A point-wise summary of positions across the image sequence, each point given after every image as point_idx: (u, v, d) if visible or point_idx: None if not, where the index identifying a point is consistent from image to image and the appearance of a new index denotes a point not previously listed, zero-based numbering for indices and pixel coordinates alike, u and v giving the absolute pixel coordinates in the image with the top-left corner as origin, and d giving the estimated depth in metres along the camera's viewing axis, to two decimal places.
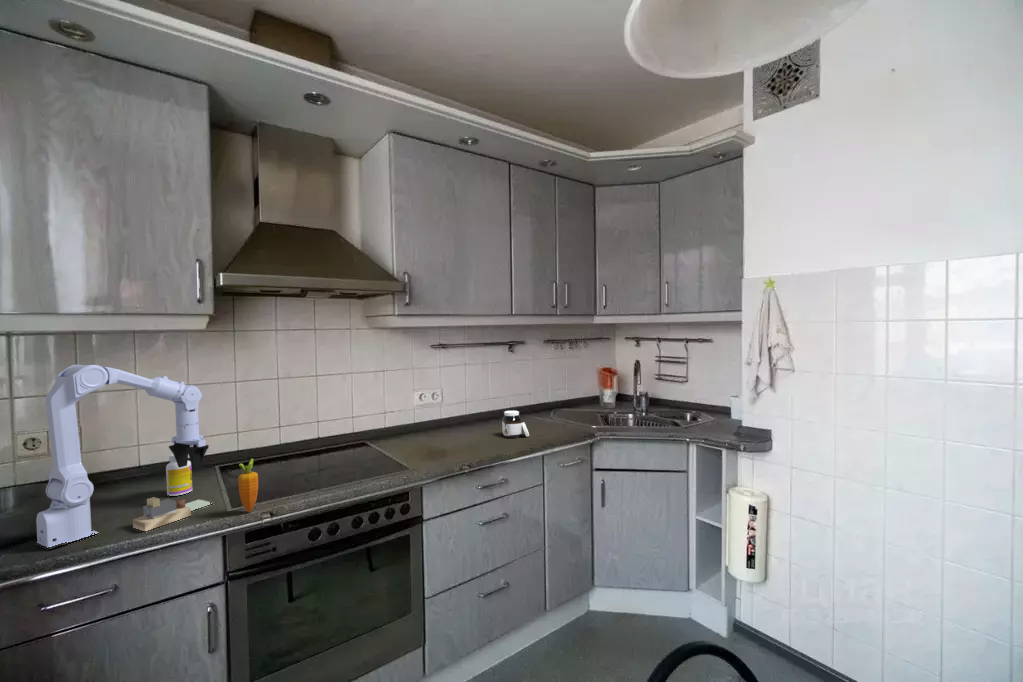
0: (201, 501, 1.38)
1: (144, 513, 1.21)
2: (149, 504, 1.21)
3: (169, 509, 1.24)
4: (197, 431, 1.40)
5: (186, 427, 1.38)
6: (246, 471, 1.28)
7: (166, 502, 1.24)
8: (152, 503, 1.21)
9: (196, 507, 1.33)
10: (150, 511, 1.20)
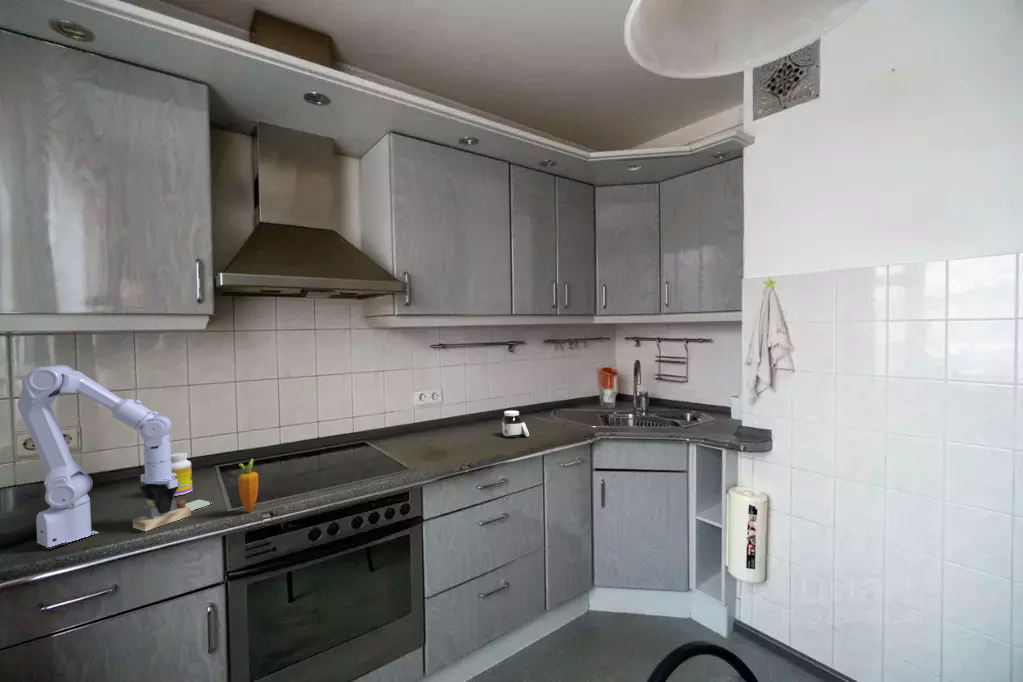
0: (201, 501, 1.38)
1: (144, 513, 1.21)
2: (149, 504, 1.21)
3: None
4: (169, 469, 1.23)
5: (155, 465, 1.21)
6: (246, 471, 1.28)
7: None
8: (152, 503, 1.21)
9: (196, 507, 1.33)
10: (150, 511, 1.20)
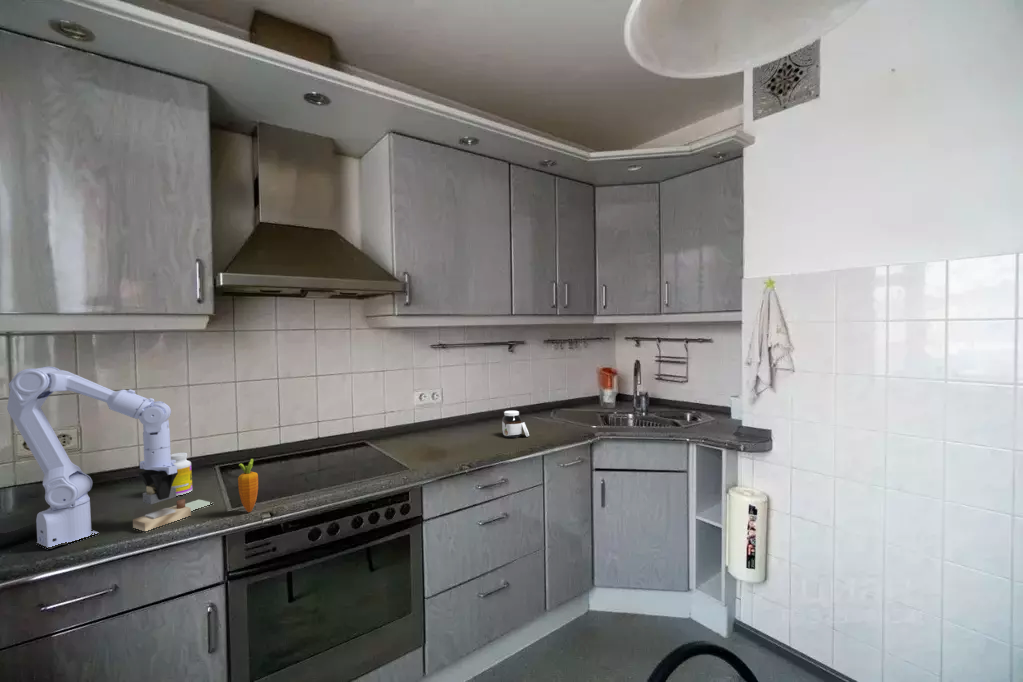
0: (201, 501, 1.38)
1: (144, 500, 1.21)
2: (149, 491, 1.21)
3: (169, 496, 1.24)
4: (168, 455, 1.23)
5: (155, 451, 1.21)
6: (246, 471, 1.28)
7: None
8: (151, 490, 1.21)
9: (196, 507, 1.33)
10: (149, 498, 1.20)
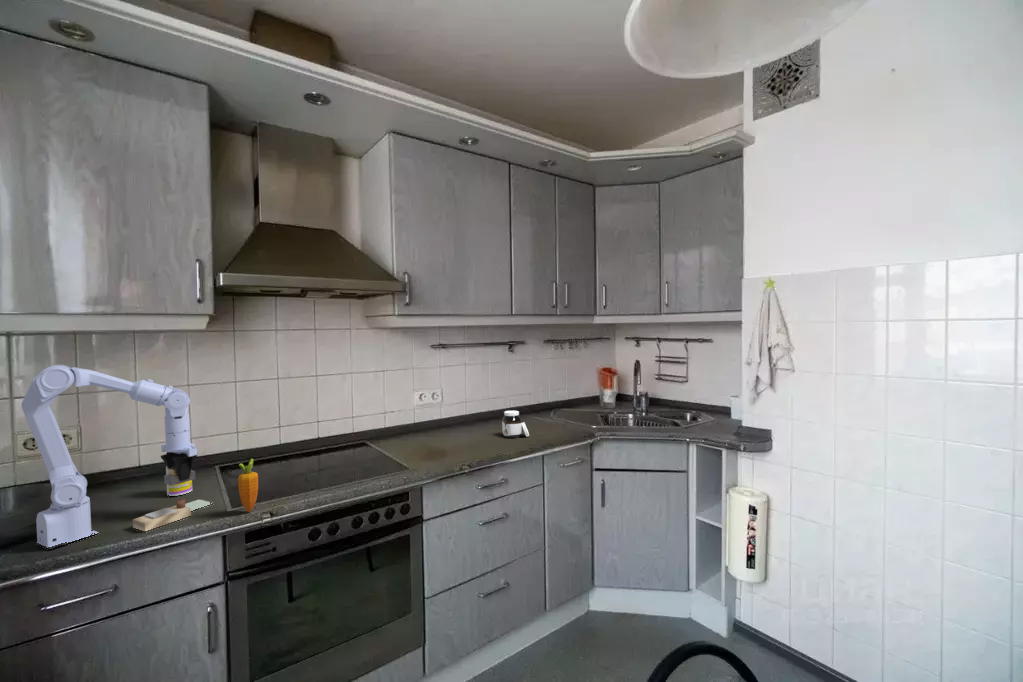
0: (201, 501, 1.38)
1: (165, 482, 1.28)
2: (170, 473, 1.28)
3: None
4: (188, 439, 1.30)
5: (176, 435, 1.28)
6: (246, 471, 1.28)
7: None
8: (172, 472, 1.28)
9: (196, 507, 1.33)
10: (171, 479, 1.27)
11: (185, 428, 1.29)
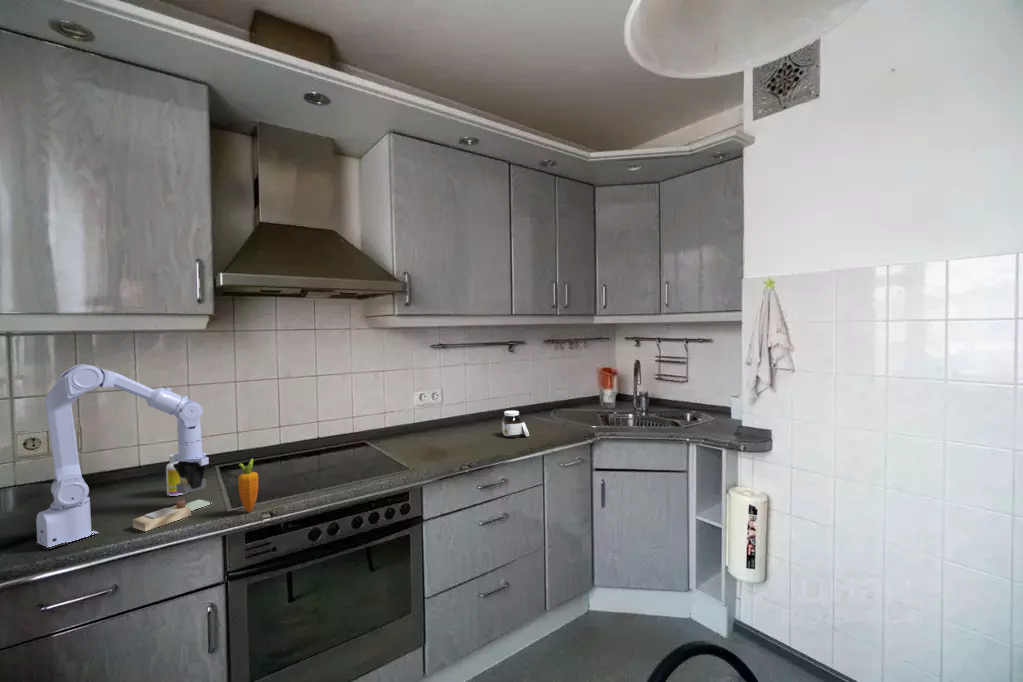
0: (201, 501, 1.38)
1: (177, 490, 1.33)
2: (182, 482, 1.33)
3: (200, 487, 1.35)
4: (200, 448, 1.35)
5: (188, 445, 1.32)
6: (246, 471, 1.28)
7: None
8: (185, 481, 1.32)
9: (196, 507, 1.33)
10: (183, 488, 1.31)
11: (198, 438, 1.34)
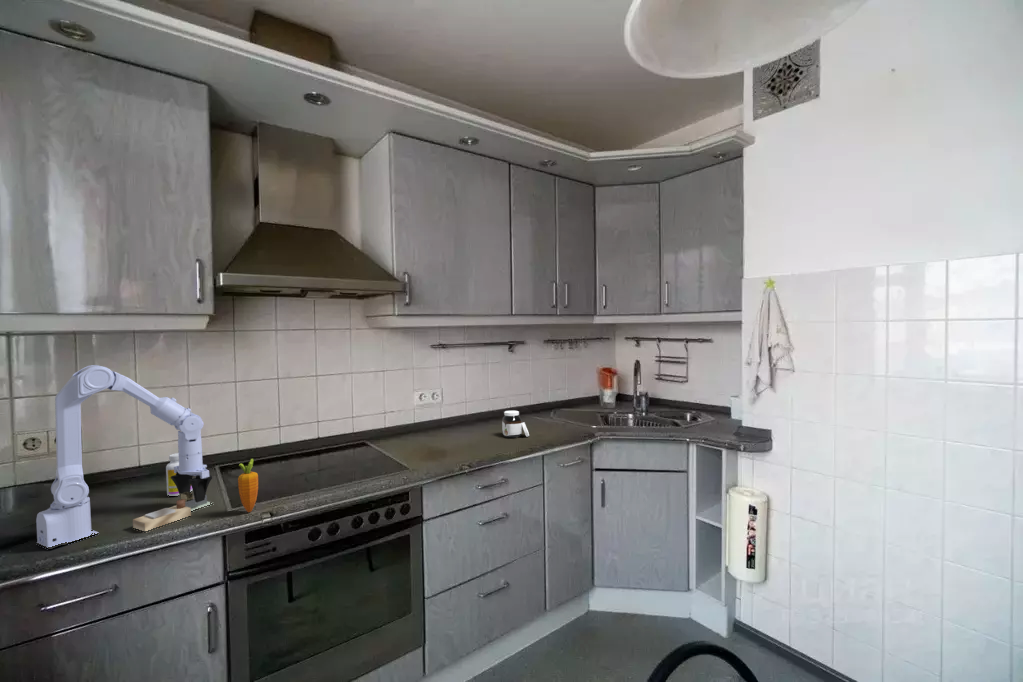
0: None
1: None
2: (183, 498, 1.33)
3: (200, 503, 1.35)
4: (200, 461, 1.35)
5: (189, 457, 1.32)
6: (246, 471, 1.28)
7: None
8: (185, 497, 1.32)
9: (196, 507, 1.33)
10: None
11: (198, 450, 1.34)
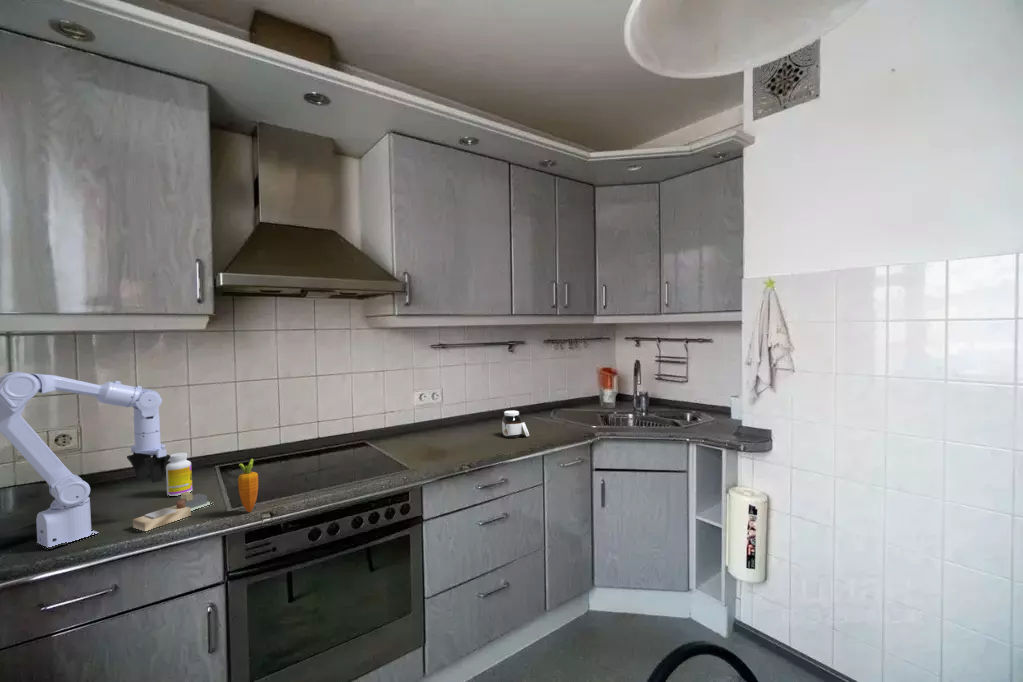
0: None
1: None
2: (183, 498, 1.33)
3: (200, 503, 1.35)
4: (158, 440, 1.28)
5: (145, 436, 1.25)
6: (246, 471, 1.28)
7: (198, 496, 1.35)
8: (185, 497, 1.32)
9: (196, 507, 1.33)
10: None
11: (156, 428, 1.28)
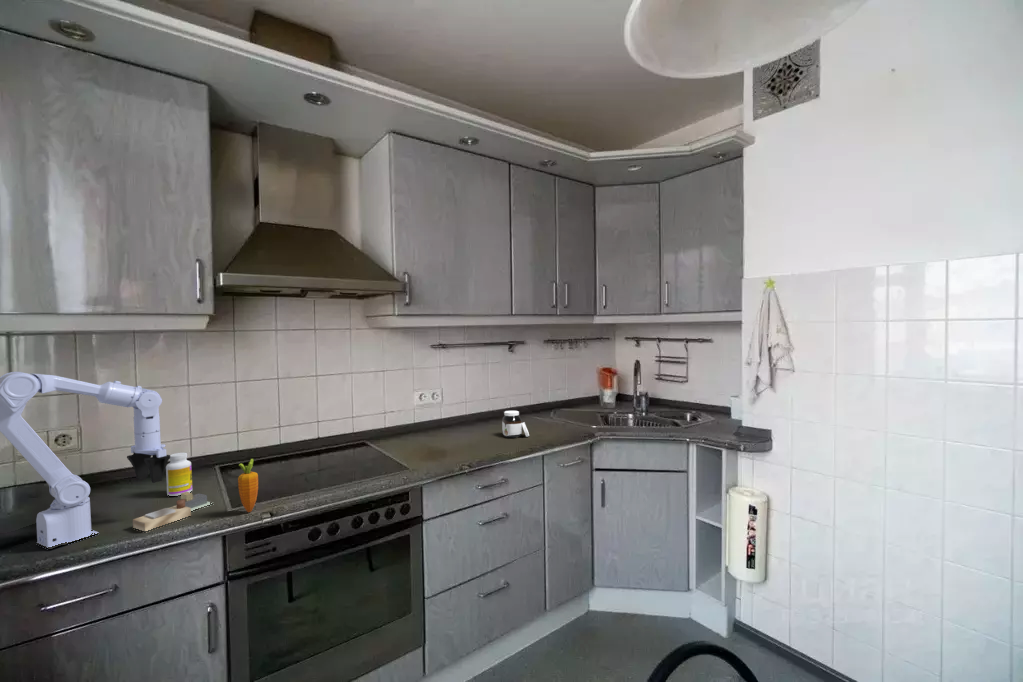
0: None
1: None
2: (183, 498, 1.33)
3: (200, 503, 1.35)
4: (158, 440, 1.28)
5: (145, 435, 1.25)
6: (246, 471, 1.28)
7: (198, 496, 1.35)
8: (185, 497, 1.32)
9: (196, 507, 1.33)
10: None
11: (156, 428, 1.28)
